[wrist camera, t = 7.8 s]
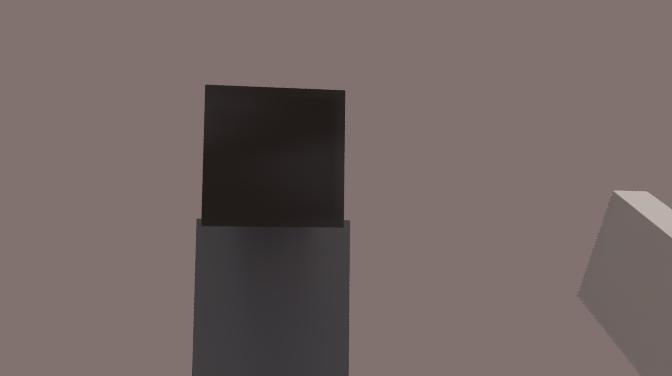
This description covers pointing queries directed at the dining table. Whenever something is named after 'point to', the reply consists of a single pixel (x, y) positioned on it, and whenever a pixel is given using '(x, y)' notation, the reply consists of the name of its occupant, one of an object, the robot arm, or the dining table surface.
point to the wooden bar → (273, 157)
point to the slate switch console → (271, 301)
